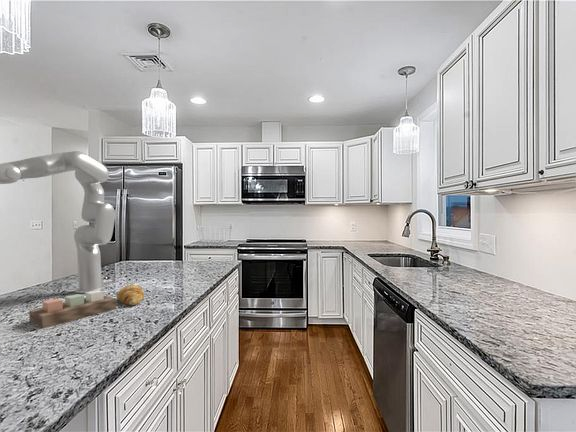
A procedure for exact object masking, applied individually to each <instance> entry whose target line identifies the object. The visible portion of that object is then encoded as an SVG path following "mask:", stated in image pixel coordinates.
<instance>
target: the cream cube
mask: <svg viewBox="0 0 576 432" xmlns="http://www.w3.org/2000/svg"><path fill="white" fill-rule="evenodd" d="M84 294H85V298H86V301H88V302H95V301H99V300H103V299H104V296H105V295H104V291H103V290H101V291H100V290H95V291H90V292H85V293H84Z"/></svg>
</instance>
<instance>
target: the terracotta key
mask: <svg viewBox="0 0 576 432" xmlns="http://www.w3.org/2000/svg"><path fill="white" fill-rule="evenodd" d="M63 303H64V302H63V300H62V299H60V298H53V299H48V300H44V301H42V305H41V306H42V308H43V312H46V313H48V312H53V311H57V310H61V309H63Z"/></svg>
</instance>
